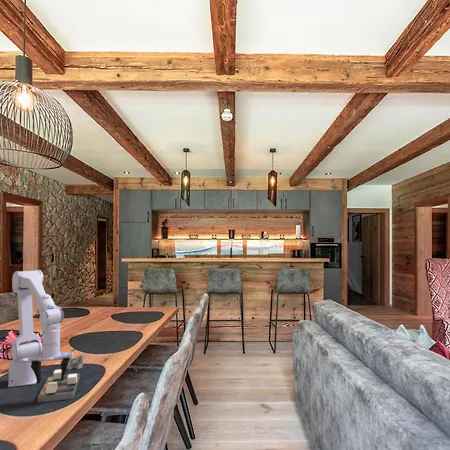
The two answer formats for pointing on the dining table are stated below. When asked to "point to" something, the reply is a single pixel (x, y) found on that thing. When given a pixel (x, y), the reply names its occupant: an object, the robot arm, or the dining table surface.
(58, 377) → the white small block
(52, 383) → the cream small block
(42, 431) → the dining table surface
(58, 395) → the switch unit
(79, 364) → the egg carton
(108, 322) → the dining table surface
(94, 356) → the dining table surface
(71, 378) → the cream small block
